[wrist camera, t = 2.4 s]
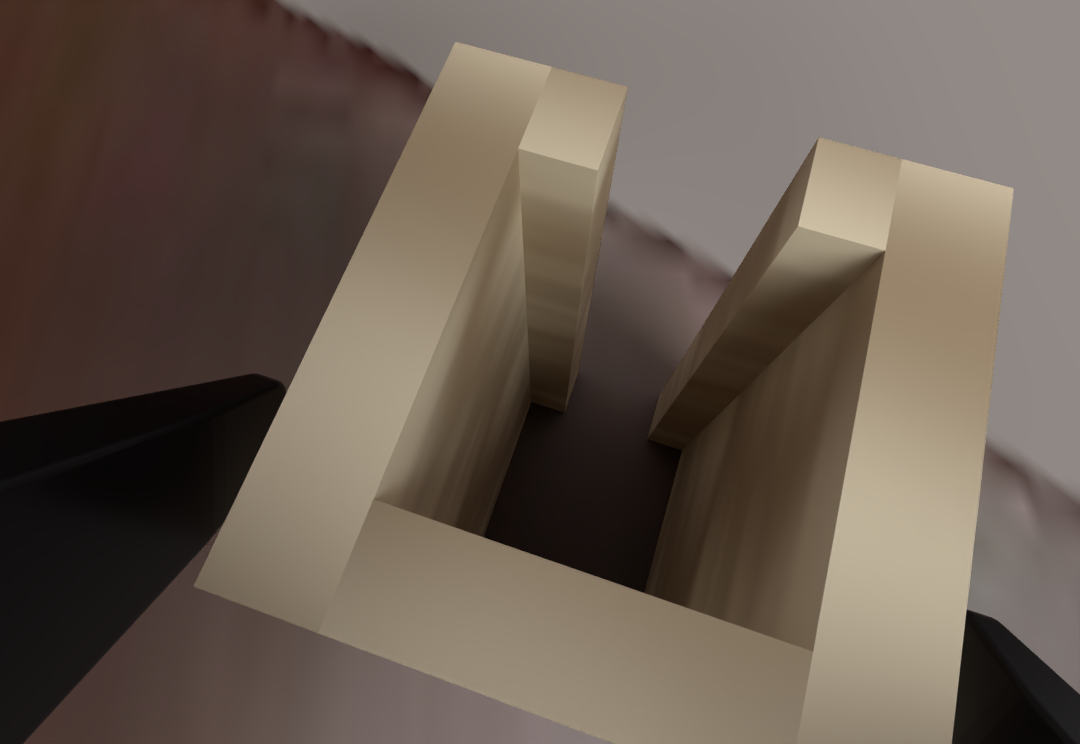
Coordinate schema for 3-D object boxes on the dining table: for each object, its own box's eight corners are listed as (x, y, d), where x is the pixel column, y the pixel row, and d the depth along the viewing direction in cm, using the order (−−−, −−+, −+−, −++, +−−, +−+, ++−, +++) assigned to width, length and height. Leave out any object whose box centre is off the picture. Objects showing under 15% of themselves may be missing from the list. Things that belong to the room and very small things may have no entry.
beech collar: (676, 682, 16) (938, 864, 5) (412, 588, 16) (193, 587, 6) (738, 421, 18) (1013, 188, 8) (503, 347, 19) (455, 41, 8)
